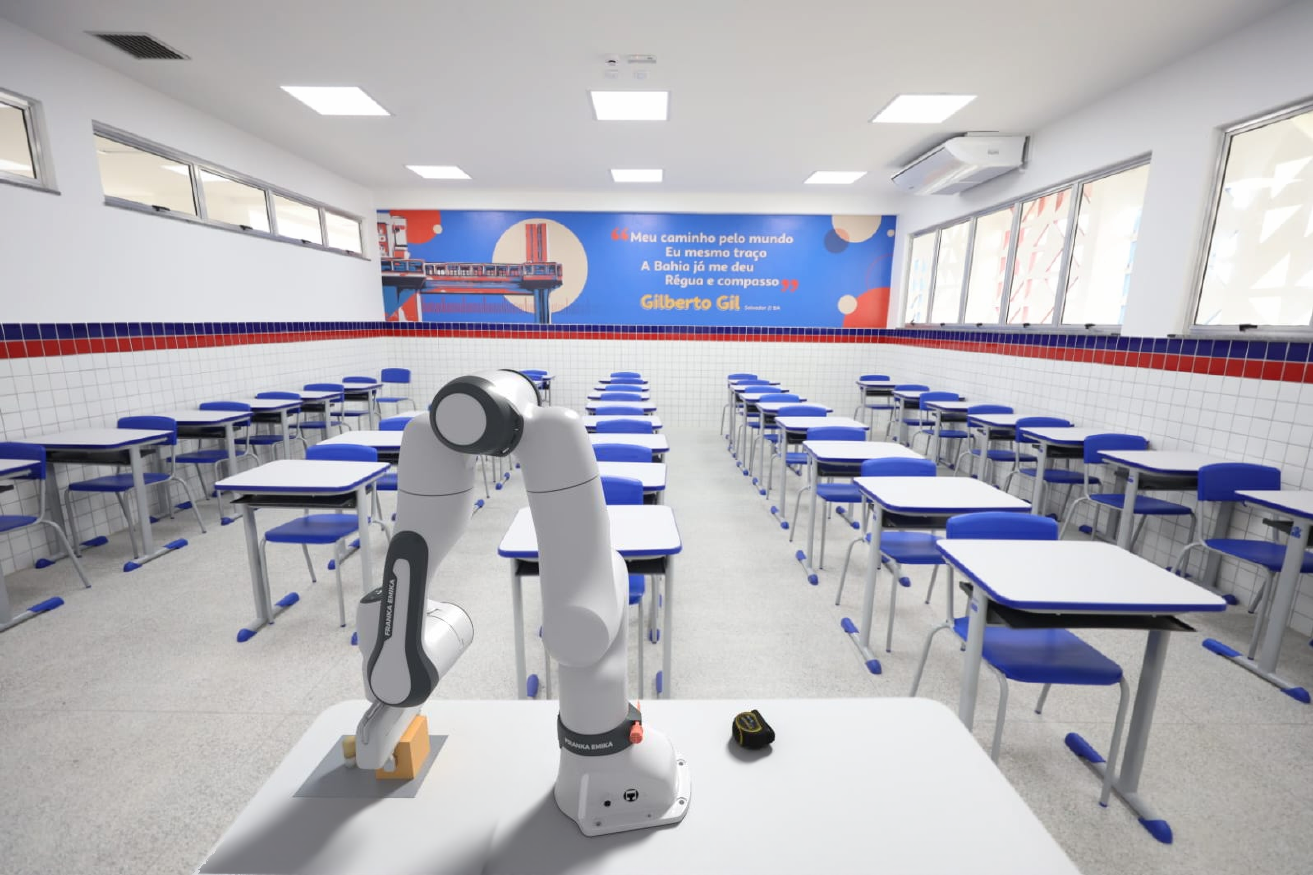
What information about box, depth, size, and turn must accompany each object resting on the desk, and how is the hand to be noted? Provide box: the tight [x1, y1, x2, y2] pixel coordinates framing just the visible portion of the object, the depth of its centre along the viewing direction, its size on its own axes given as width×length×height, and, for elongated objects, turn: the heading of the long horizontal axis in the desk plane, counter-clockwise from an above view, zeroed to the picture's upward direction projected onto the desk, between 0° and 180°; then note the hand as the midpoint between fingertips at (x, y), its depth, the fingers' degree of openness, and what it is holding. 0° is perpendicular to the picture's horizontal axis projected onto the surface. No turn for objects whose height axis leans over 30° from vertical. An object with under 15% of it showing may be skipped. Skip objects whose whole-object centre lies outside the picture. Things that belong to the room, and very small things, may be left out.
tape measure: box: [731, 709, 776, 750], centre depth 103 cm, size 7×7×4 cm
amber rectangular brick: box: [375, 715, 430, 779], centre depth 96 cm, size 6×6×7 cm
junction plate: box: [292, 734, 449, 799], centre depth 97 cm, size 20×14×6 cm
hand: (402, 750), depth 97 cm, fingers closed on amber rectangular brick, 6 cm apart
